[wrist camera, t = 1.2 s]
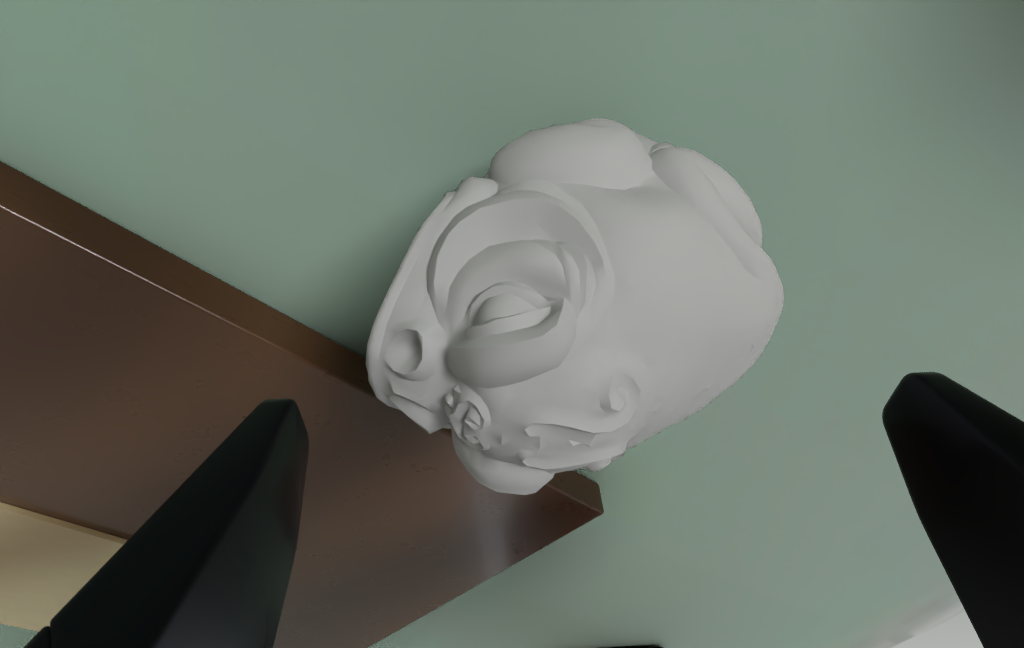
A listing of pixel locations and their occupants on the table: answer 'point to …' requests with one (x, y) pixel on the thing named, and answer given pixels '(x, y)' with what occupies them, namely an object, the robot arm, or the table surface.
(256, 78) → the table surface
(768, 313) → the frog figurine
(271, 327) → the board
